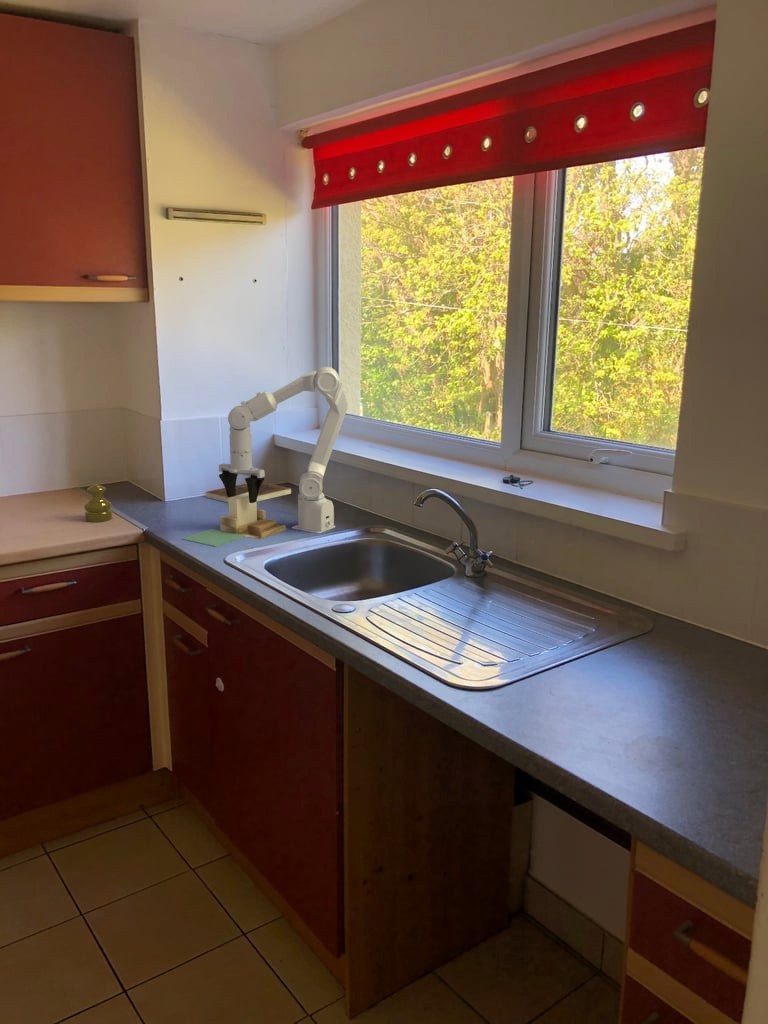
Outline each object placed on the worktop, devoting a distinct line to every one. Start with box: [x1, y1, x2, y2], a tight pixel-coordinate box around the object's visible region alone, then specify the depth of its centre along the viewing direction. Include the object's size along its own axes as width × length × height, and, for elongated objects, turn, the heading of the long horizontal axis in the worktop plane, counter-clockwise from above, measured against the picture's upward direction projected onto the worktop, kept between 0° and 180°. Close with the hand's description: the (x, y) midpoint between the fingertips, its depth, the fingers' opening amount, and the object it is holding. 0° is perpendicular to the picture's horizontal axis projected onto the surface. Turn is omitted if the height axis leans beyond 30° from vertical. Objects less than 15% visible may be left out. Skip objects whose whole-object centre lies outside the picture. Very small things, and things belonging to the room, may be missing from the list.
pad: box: [181, 528, 246, 548], centre depth 220 cm, size 12×11×1 cm
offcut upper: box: [247, 518, 279, 532], centre depth 225 cm, size 4×7×1 cm, turn 148°
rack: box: [219, 508, 288, 540], centre depth 227 cm, size 14×12×4 cm
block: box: [227, 492, 258, 527], centre depth 228 cm, size 3×8×9 cm, turn 148°
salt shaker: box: [83, 483, 113, 523], centre depth 237 cm, size 7×7×10 cm
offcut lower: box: [248, 524, 281, 536], centre depth 226 cm, size 5×8×1 cm, turn 148°
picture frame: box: [204, 481, 292, 504], centre depth 268 cm, size 16×2×22 cm
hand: (242, 500), depth 227 cm, fingers open, 7 cm apart
